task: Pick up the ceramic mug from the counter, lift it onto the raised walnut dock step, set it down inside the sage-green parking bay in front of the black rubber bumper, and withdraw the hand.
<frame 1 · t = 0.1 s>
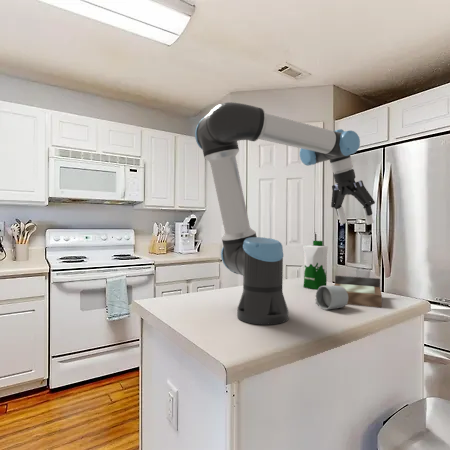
hand: (356, 223, 126), 28 cm above the countertop, tool tilted 20°, fingers open, 13 cm apart
ceramic mug: (328, 307, 108), on the countertop
milk carton: (314, 288, 139), on the countertop
dock step: (356, 299, 118), on the countertop
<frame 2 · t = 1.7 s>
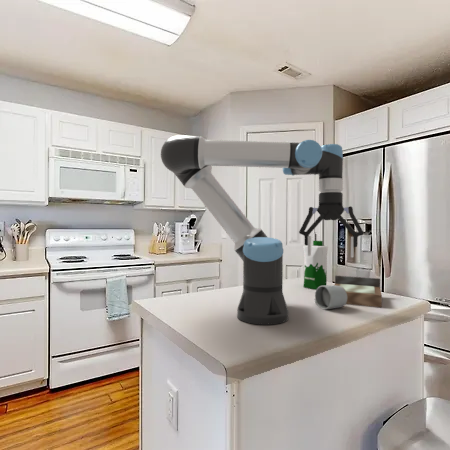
hand: (330, 256, 107), 17 cm above the countertop, tool pointing down, fingers open, 13 cm apart
nothing on the countertop moved.
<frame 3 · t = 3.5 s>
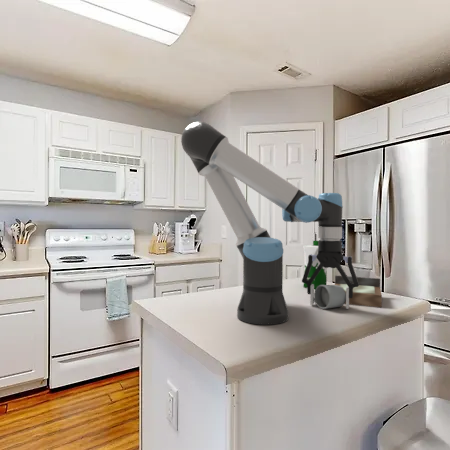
hand: (329, 305, 107), 0 cm above the countertop, tool pointing down, fingers closed on ceramic mug, 11 cm apart
ceramic mug: (327, 307, 108), on the countertop, touching gripper
everything else where it was.
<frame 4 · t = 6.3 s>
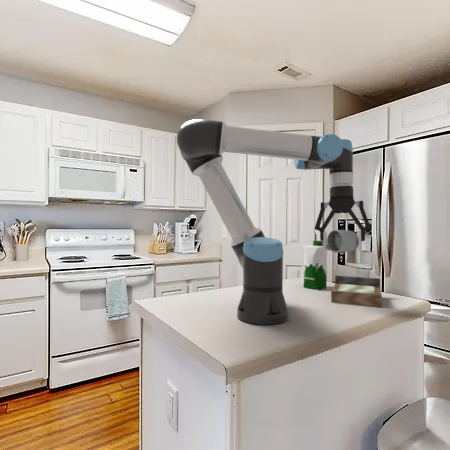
hand: (342, 250, 110), 19 cm above the countertop, tool pointing down, fingers closed on ceramic mug, 11 cm apart
ceramic mug: (340, 252, 111), point 18 cm above the countertop, touching gripper
everything else where it was.
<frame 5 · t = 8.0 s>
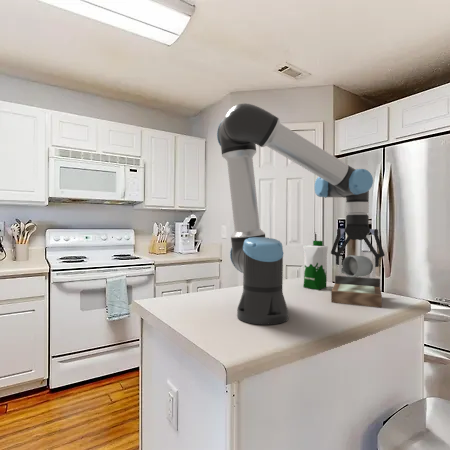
hand: (356, 275, 117), 9 cm above the countertop, tool pointing down, fingers closed on ceramic mug, 11 cm apart
ceramic mug: (354, 276, 118), point 9 cm above the countertop, touching gripper
everything else where it was.
when the fingers open (6 cm above the countertop, at t = 9.2 s): ceramic mug drops 1 cm, resting on dock step.
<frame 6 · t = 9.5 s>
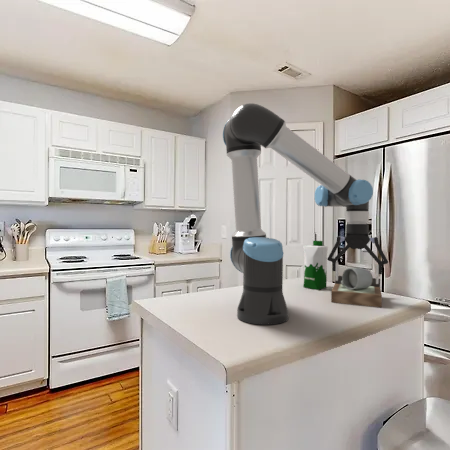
hand: (356, 281, 117), 7 cm above the countertop, tool pointing down, fingers open, 13 cm apart
ceramic mug: (354, 288, 118), point 4 cm above the countertop, touching dock step
everything else where it was.
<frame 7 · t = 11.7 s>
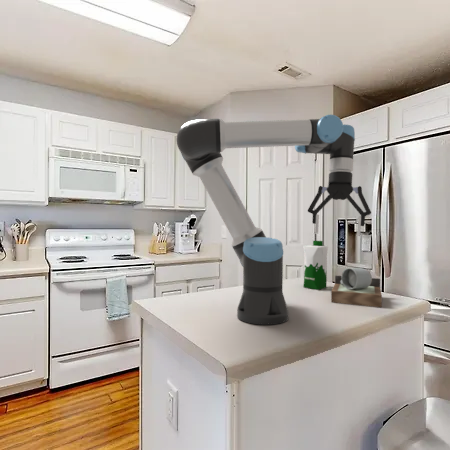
hand: (337, 234, 110), 24 cm above the countertop, tool pointing down, fingers open, 13 cm apart
nothing on the countertop moved.
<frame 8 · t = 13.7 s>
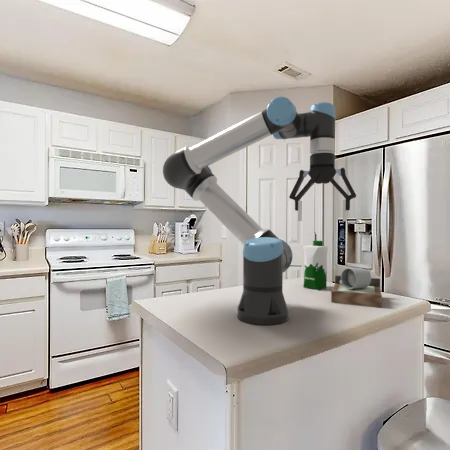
hand: (321, 221, 102), 29 cm above the countertop, tool pointing down, fingers open, 13 cm apart
nothing on the countertop moved.
at the end: ceramic mug inside the target area on the dock step (1.6 cm from its centre), point 4.0 cm above the dock step's base; ceramic mug tilted 1°; the gripper is holding nothing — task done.
